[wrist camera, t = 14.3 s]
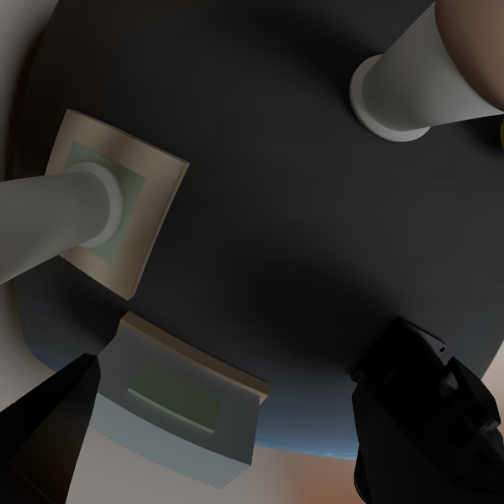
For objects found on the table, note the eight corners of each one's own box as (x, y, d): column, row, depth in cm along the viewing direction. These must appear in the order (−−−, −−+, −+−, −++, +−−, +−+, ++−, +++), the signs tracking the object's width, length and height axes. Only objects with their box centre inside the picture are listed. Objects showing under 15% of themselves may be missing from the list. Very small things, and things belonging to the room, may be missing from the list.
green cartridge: (125, 159, 18) (-47, 175, 5) (126, 246, 20) (-17, 339, 7) (61, 164, 18) (-87, 188, 6) (64, 241, 20) (-67, 308, 8)
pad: (190, 163, 19) (183, 163, 18) (134, 294, 22) (127, 301, 21) (76, 110, 18) (66, 108, 17) (40, 230, 22) (31, 234, 20)
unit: (269, 383, 23) (261, 465, 15) (239, 418, 25) (224, 492, 17) (129, 310, 23) (72, 370, 15) (115, 354, 24) (67, 413, 16)
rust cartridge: (440, 92, 15) (573, 50, 3) (409, 159, 17) (556, 169, 5) (370, 43, 15) (455, -66, 3) (333, 109, 17) (415, 24, 5)
